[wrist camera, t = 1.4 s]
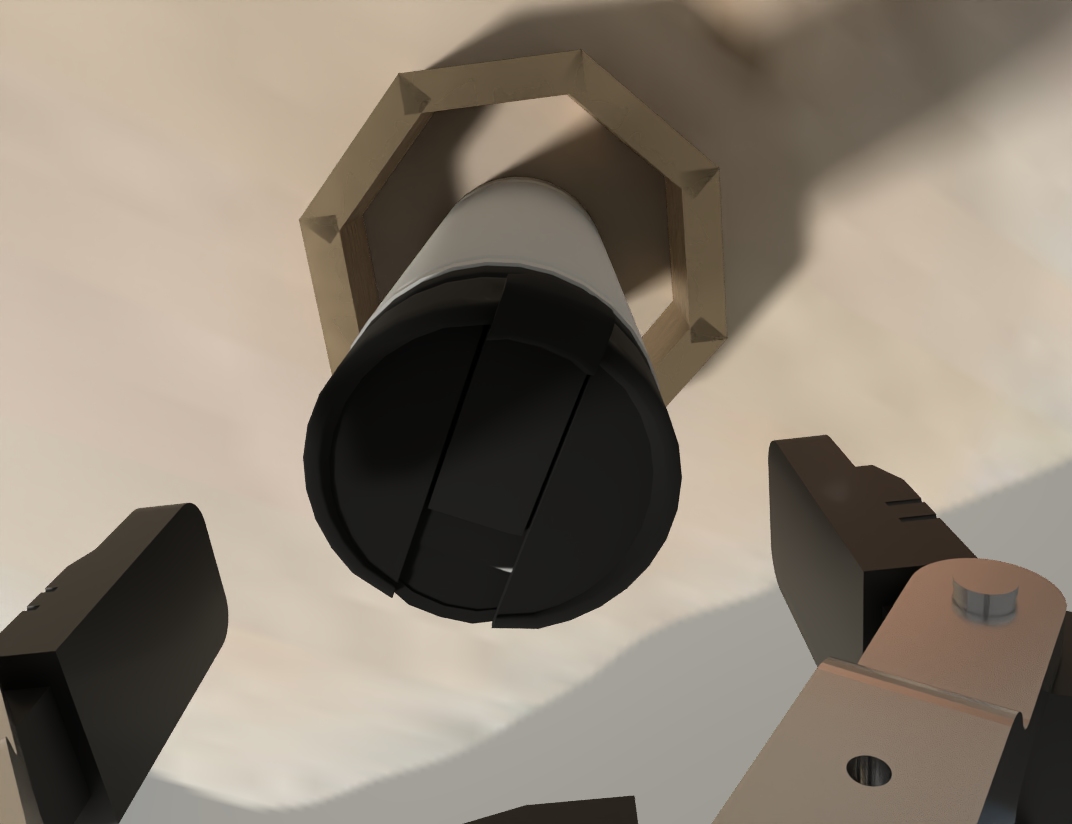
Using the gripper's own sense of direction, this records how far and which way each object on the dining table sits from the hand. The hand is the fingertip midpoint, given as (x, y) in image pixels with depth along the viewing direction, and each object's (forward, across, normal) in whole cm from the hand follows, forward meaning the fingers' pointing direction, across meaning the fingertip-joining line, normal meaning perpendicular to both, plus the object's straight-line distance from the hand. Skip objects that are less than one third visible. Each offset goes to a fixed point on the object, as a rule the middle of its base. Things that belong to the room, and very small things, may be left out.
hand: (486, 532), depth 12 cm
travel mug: (+22, 0, 0) cm, 22 cm away
